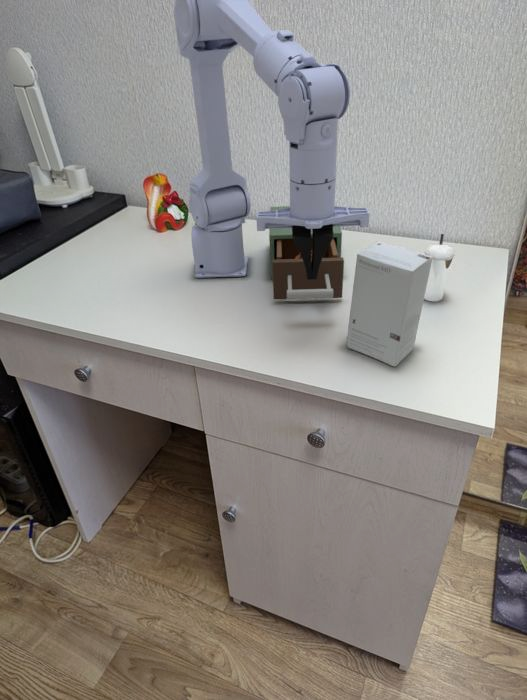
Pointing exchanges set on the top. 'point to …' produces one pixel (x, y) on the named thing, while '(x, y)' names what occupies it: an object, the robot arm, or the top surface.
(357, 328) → the cosmetic box
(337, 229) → the cabinet
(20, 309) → the top surface
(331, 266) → the drawer
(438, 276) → the milkshake
